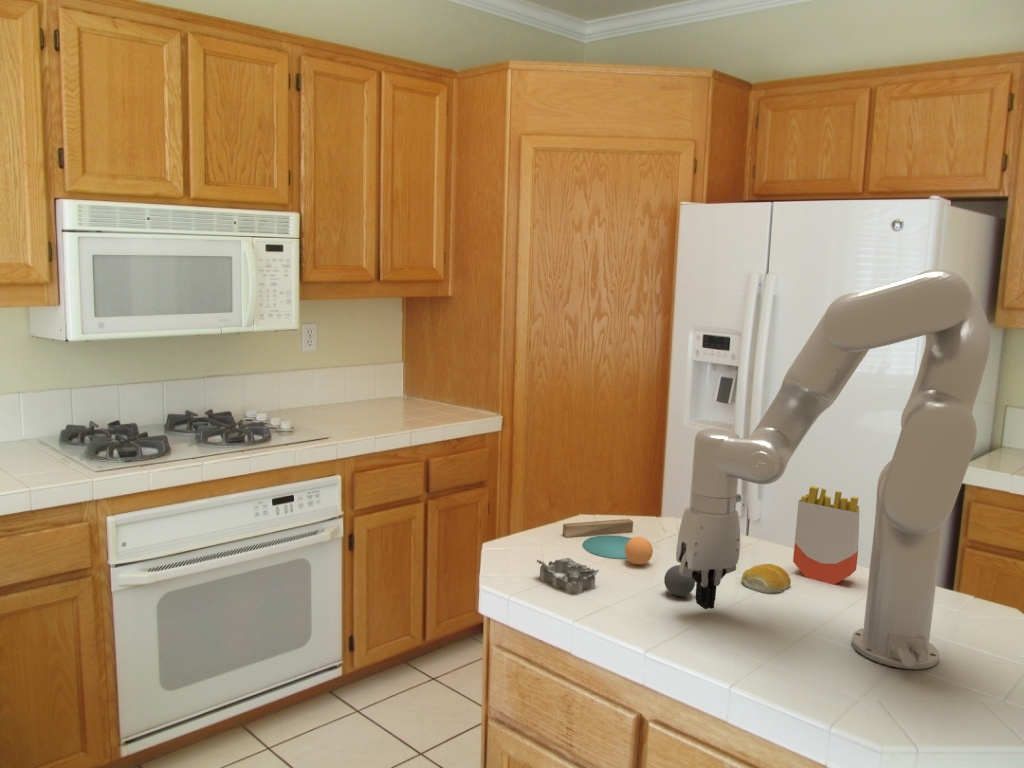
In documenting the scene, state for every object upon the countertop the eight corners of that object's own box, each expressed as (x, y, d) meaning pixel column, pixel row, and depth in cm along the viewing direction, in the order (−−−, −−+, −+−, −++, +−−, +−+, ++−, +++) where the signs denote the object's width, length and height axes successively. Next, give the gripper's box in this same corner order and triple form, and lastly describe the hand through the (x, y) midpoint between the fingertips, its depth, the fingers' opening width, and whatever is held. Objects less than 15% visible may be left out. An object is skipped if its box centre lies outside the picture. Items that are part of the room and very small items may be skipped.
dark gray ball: (695, 602, 150) (697, 572, 149) (664, 599, 150) (666, 570, 150) (692, 590, 155) (694, 561, 155) (662, 588, 156) (664, 559, 155)
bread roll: (796, 586, 160) (798, 565, 160) (774, 598, 154) (776, 577, 153) (756, 573, 166) (757, 554, 165) (733, 585, 159) (735, 565, 159)
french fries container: (799, 567, 169) (807, 480, 167) (855, 581, 163) (864, 491, 160) (791, 573, 166) (799, 485, 163) (848, 588, 159) (858, 496, 157)
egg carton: (533, 579, 159) (533, 559, 158) (562, 571, 163) (563, 551, 163) (571, 598, 150) (572, 576, 150) (601, 589, 155) (602, 567, 155)
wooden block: (632, 532, 187) (633, 521, 187) (566, 537, 182) (566, 526, 182) (628, 529, 189) (629, 518, 189) (562, 534, 184) (563, 523, 184)
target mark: (651, 561, 170) (651, 560, 170) (581, 556, 171) (582, 555, 171) (647, 538, 183) (647, 537, 183) (583, 534, 185) (583, 533, 185)
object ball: (652, 570, 165) (654, 543, 164) (624, 568, 165) (626, 541, 165) (651, 560, 170) (652, 534, 169) (623, 558, 171) (625, 532, 170)
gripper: (737, 494, 148) (729, 593, 151) (662, 499, 143) (655, 601, 145) (763, 506, 141) (754, 610, 144) (686, 512, 136) (678, 619, 138)
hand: (704, 605), depth 145 cm, fingers closed
